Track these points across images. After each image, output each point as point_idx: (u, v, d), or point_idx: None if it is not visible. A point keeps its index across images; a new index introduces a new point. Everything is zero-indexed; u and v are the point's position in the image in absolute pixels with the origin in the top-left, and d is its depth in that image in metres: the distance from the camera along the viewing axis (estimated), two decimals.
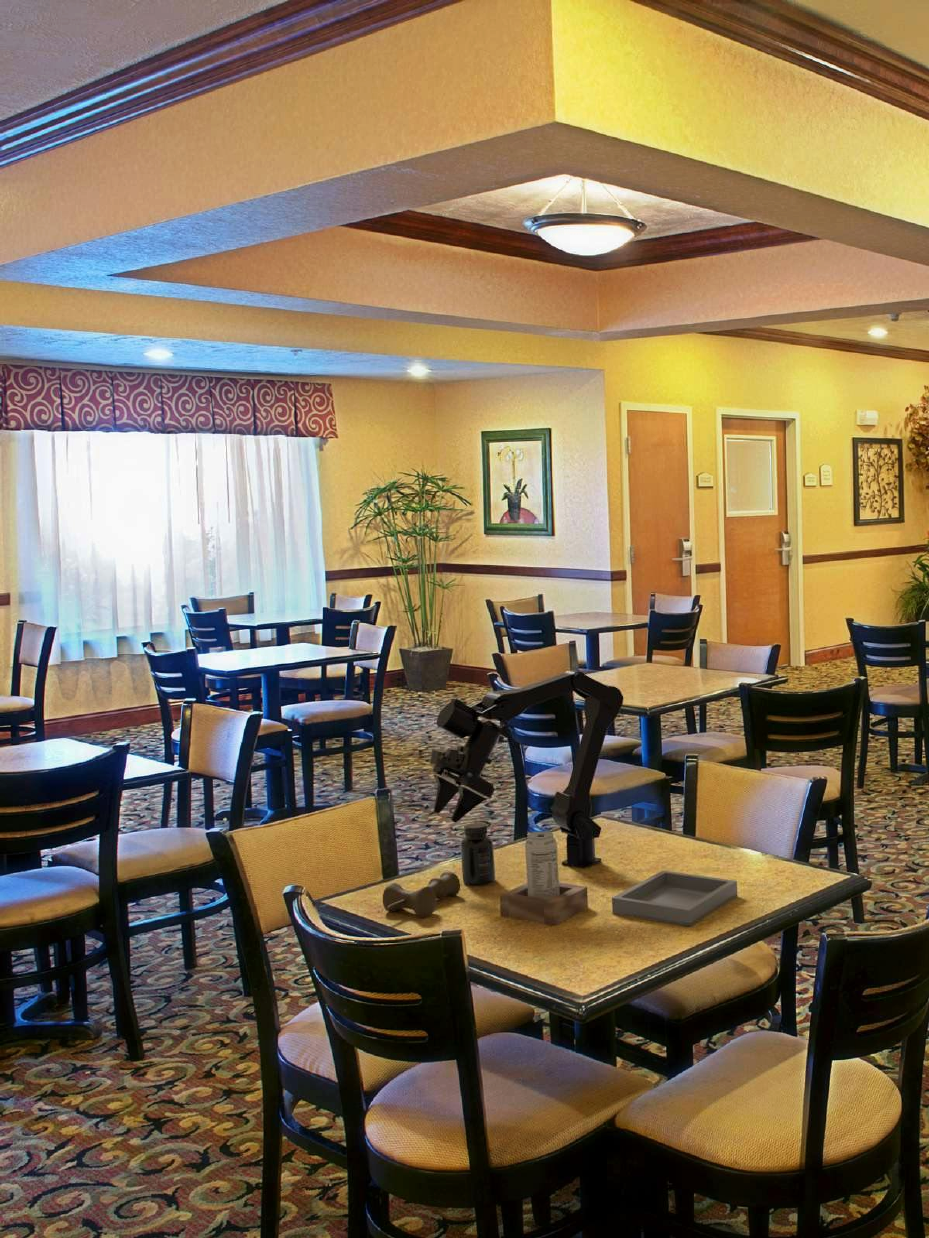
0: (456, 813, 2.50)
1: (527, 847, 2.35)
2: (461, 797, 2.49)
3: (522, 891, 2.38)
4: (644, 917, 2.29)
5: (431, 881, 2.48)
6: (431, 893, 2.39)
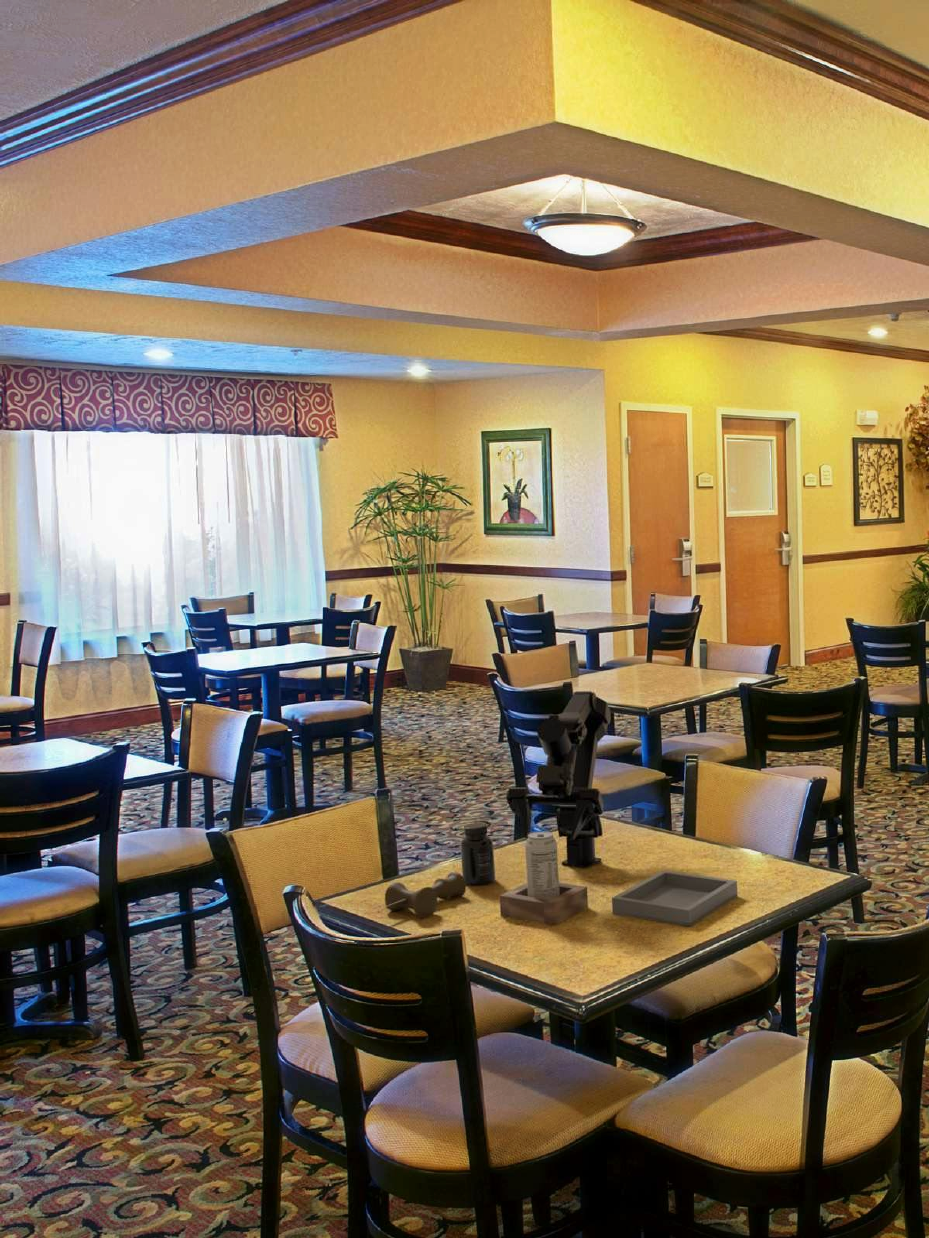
0: (576, 829, 2.41)
1: (527, 847, 2.35)
2: (580, 812, 2.42)
3: (522, 891, 2.38)
4: (644, 917, 2.29)
5: (436, 881, 2.47)
6: (431, 894, 2.38)
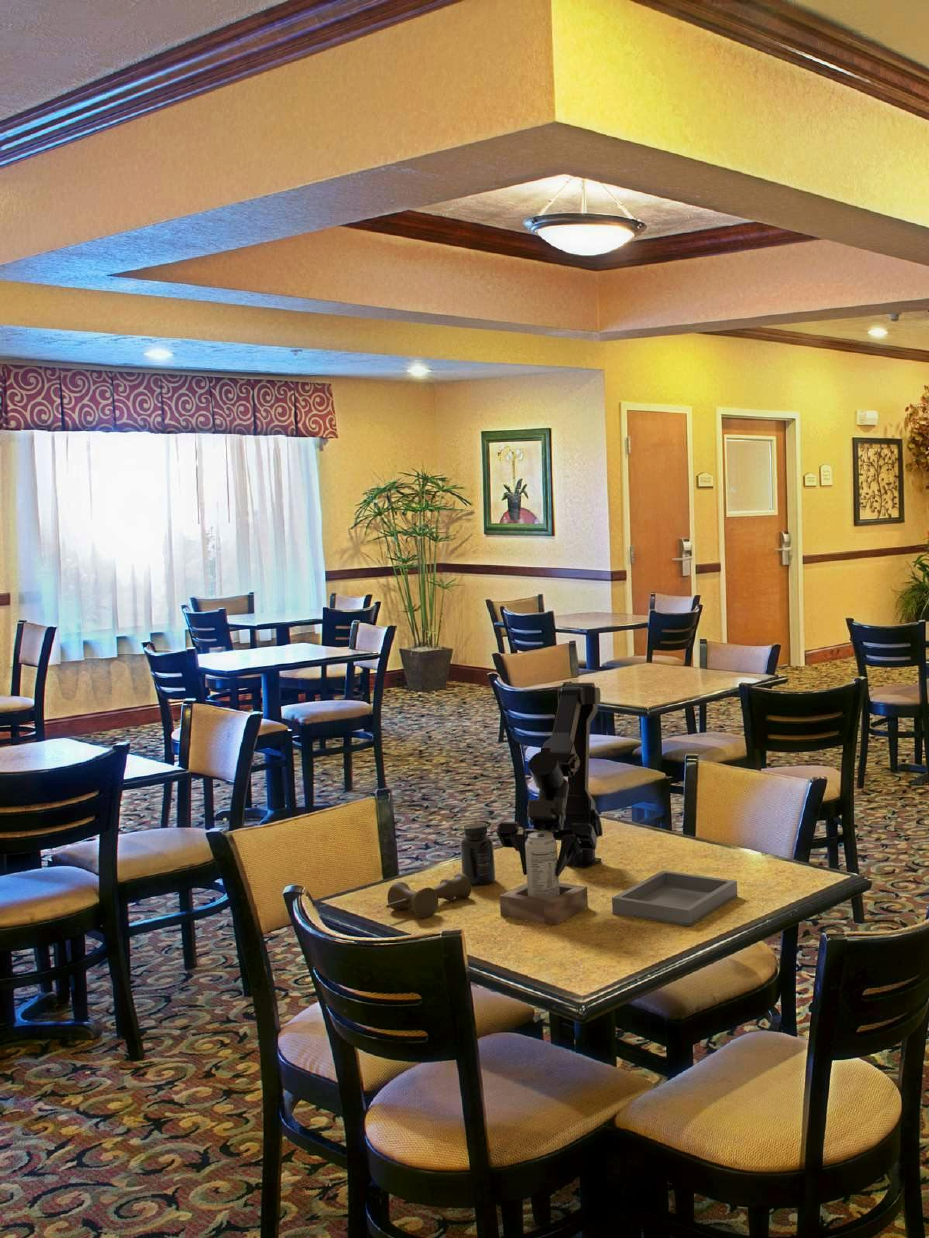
0: (561, 866, 2.34)
1: (527, 847, 2.35)
2: (566, 848, 2.36)
3: (522, 891, 2.38)
4: (644, 917, 2.29)
5: (441, 882, 2.47)
6: (431, 894, 2.38)
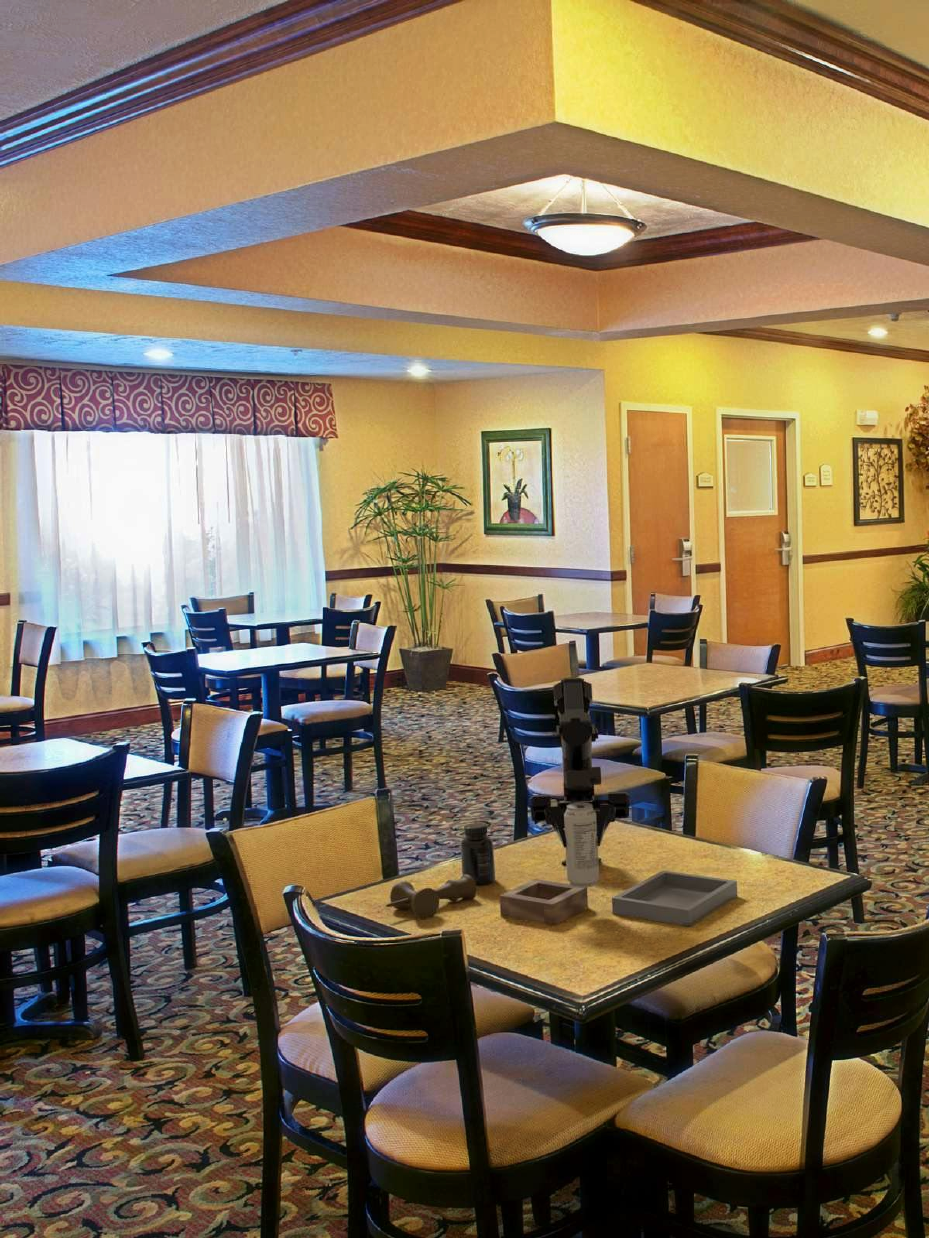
0: (602, 835, 2.33)
1: (569, 819, 2.31)
2: (604, 817, 2.34)
3: (522, 891, 2.38)
4: (644, 917, 2.29)
5: (446, 883, 2.46)
6: (432, 895, 2.37)
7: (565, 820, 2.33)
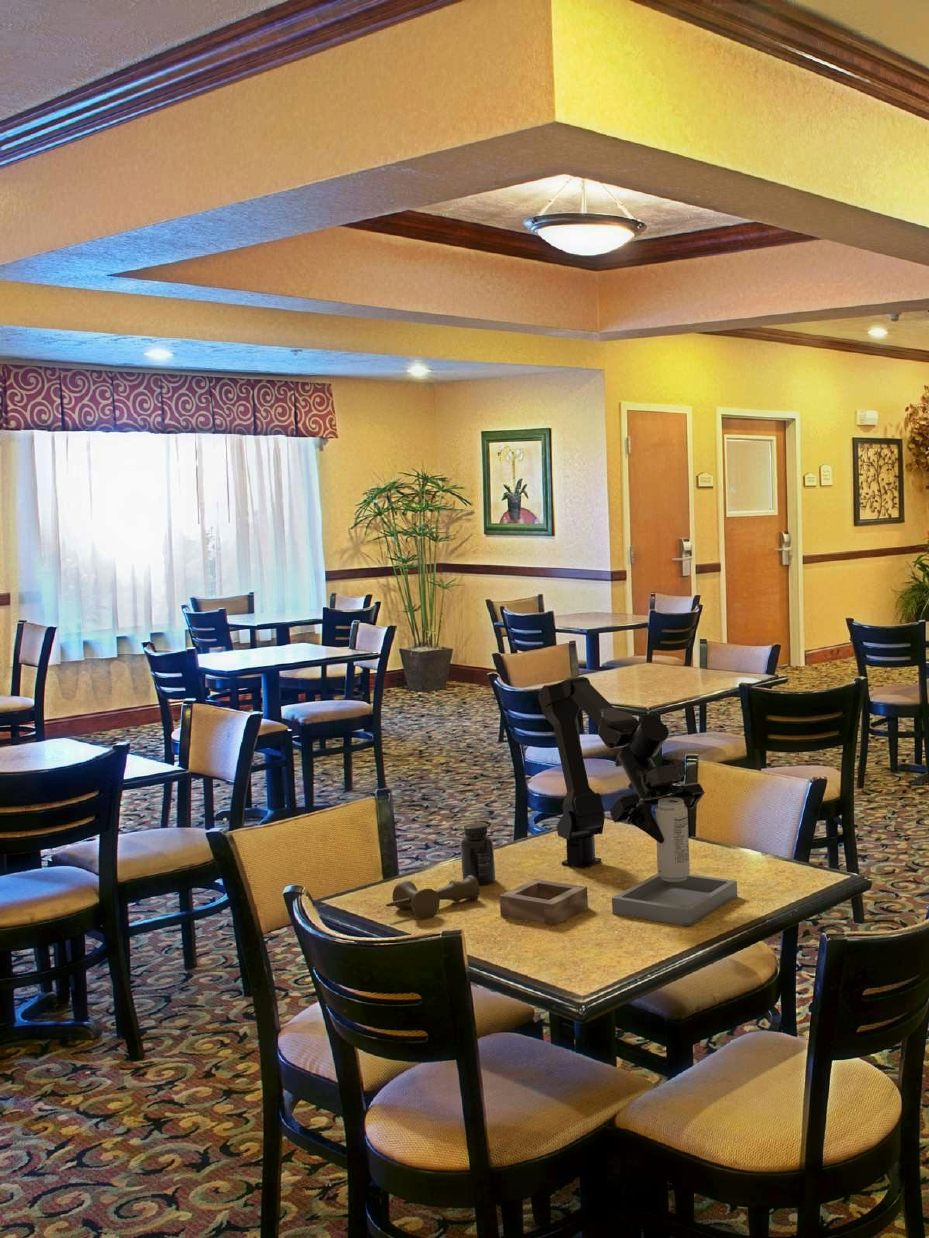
0: None
1: (668, 814, 2.32)
2: (687, 809, 2.38)
3: (522, 891, 2.38)
4: (644, 917, 2.29)
5: (449, 883, 2.46)
6: (432, 895, 2.37)
7: (662, 816, 2.33)
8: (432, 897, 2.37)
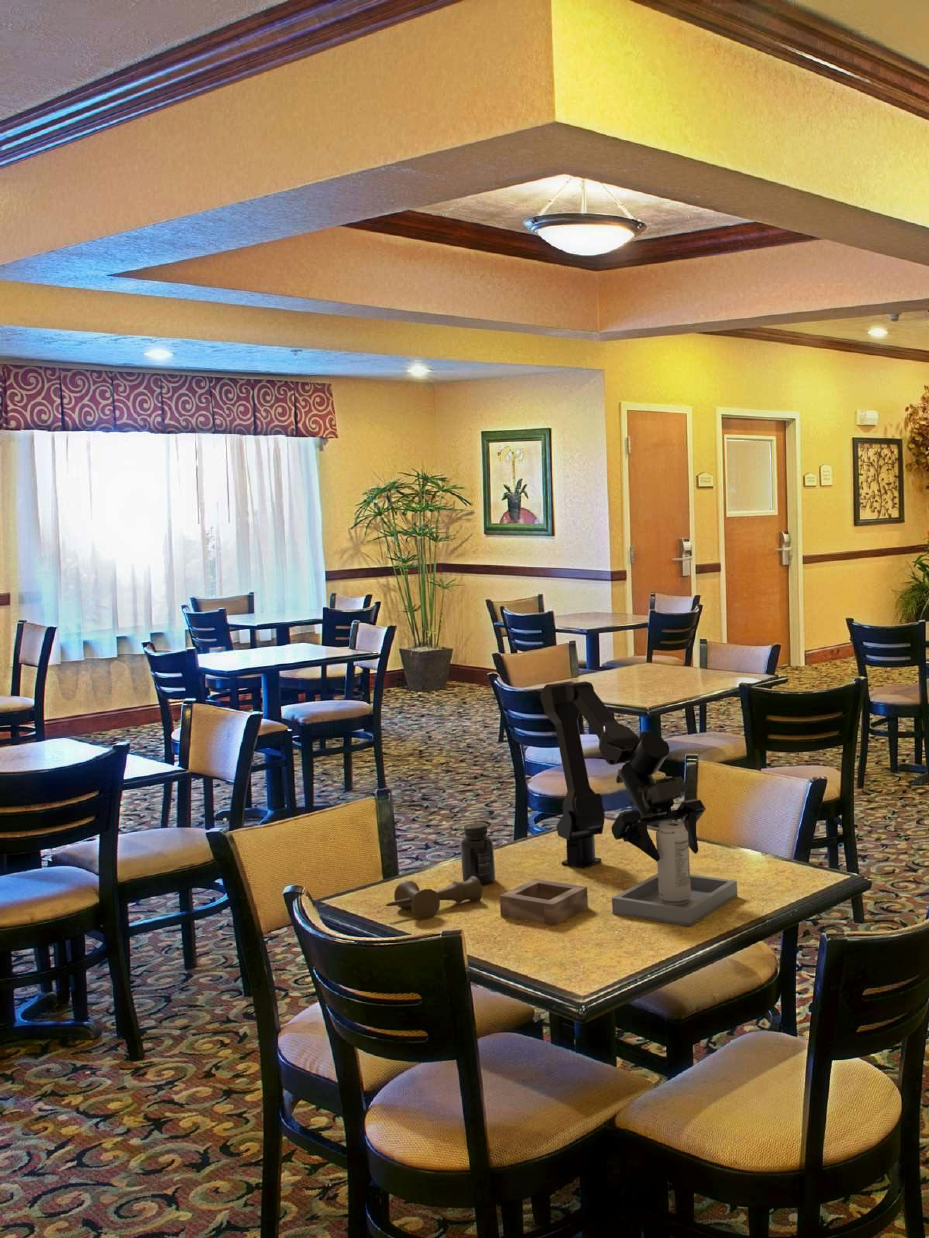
0: None
1: (669, 838, 2.33)
2: (694, 825, 2.39)
3: (522, 891, 2.38)
4: (644, 917, 2.29)
5: (452, 884, 2.45)
6: (431, 896, 2.37)
7: (663, 840, 2.34)
8: (432, 897, 2.37)
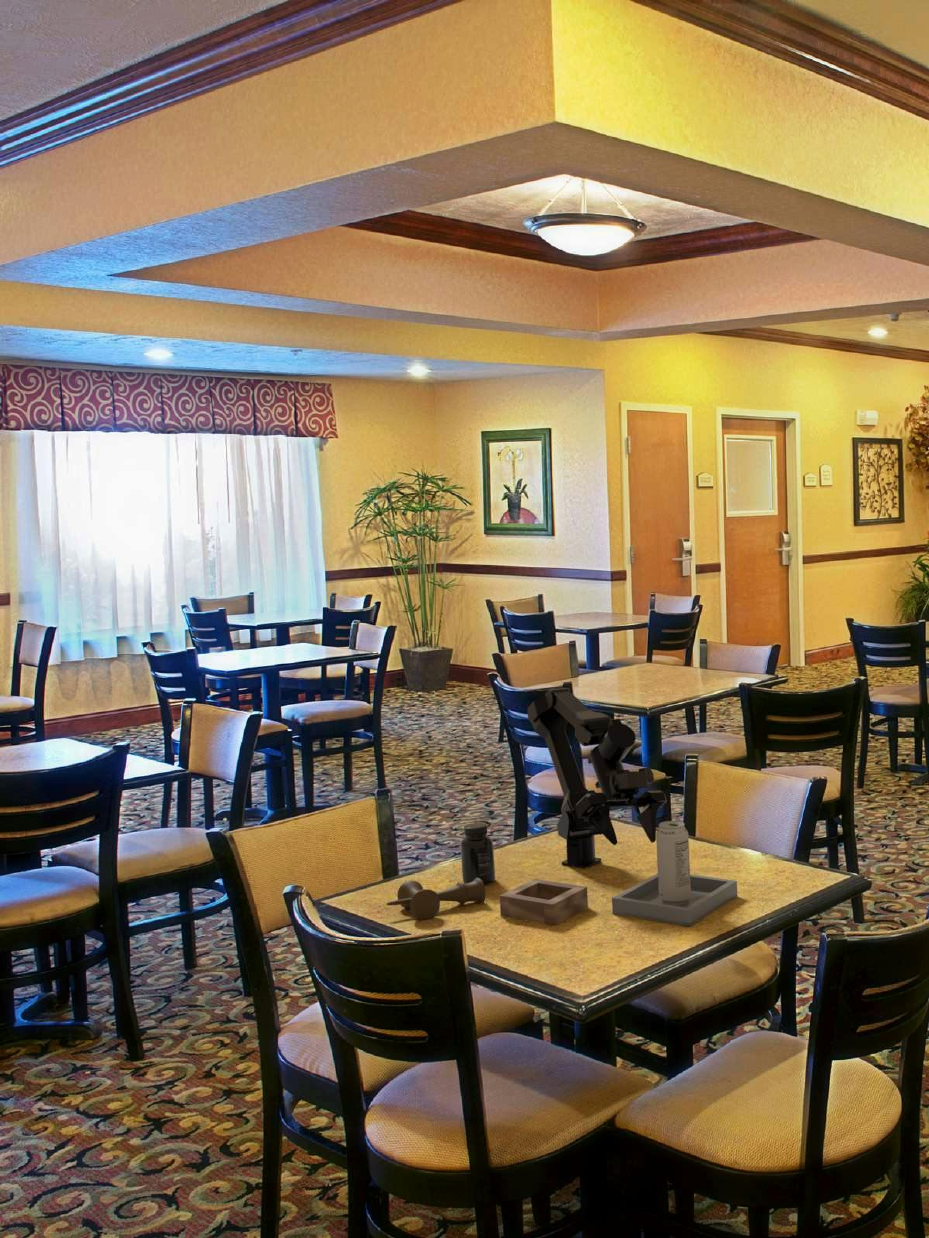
0: None
1: (669, 838, 2.33)
2: (654, 815, 2.47)
3: (522, 891, 2.38)
4: (644, 917, 2.29)
5: None
6: (431, 896, 2.36)
7: (663, 840, 2.33)
8: (431, 898, 2.36)
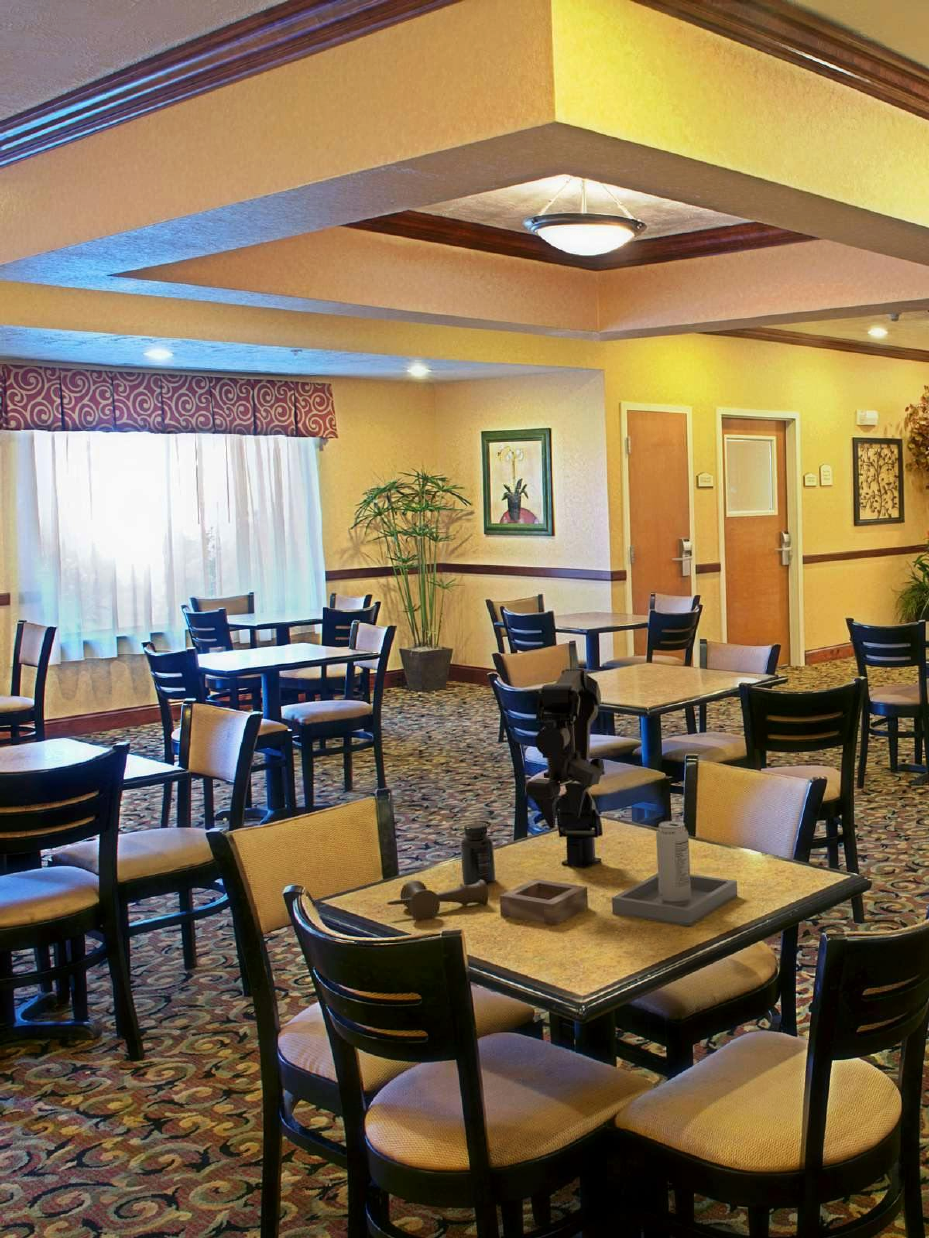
0: None
1: (669, 838, 2.33)
2: (584, 793, 2.55)
3: (522, 891, 2.38)
4: (644, 917, 2.29)
5: (459, 886, 2.44)
6: (430, 897, 2.36)
7: (663, 840, 2.34)
8: (431, 899, 2.36)
